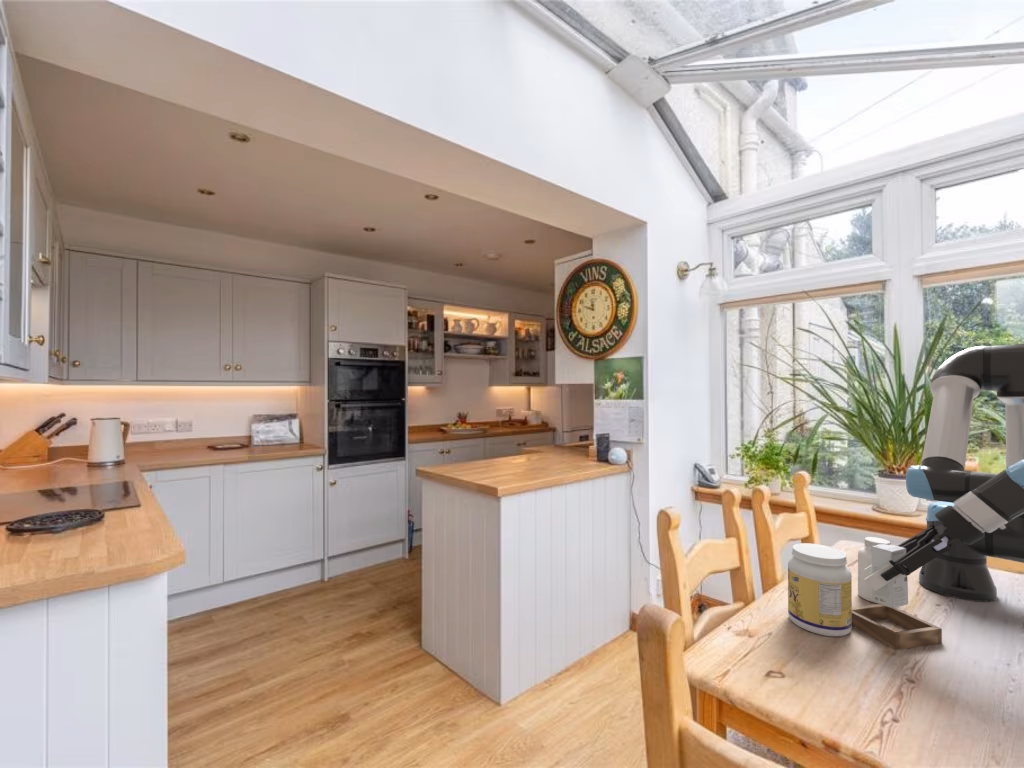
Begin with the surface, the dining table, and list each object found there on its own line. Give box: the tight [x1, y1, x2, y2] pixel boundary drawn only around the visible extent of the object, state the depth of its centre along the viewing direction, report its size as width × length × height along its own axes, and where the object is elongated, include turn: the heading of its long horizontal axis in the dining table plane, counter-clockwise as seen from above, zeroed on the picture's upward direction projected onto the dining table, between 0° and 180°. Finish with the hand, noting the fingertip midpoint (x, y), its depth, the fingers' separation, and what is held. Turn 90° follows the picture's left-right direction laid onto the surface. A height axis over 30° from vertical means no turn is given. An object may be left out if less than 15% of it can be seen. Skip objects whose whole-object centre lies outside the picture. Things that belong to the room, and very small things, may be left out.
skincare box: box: [871, 544, 909, 608], centre depth 104 cm, size 6×4×12 cm
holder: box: [852, 603, 943, 651], centre depth 104 cm, size 12×12×3 cm
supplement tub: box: [787, 542, 853, 637], centre depth 108 cm, size 12×12×17 cm
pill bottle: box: [857, 536, 892, 604], centre depth 121 cm, size 8×8×15 cm
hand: (870, 579), depth 106 cm, fingers closed on skincare box, 7 cm apart
